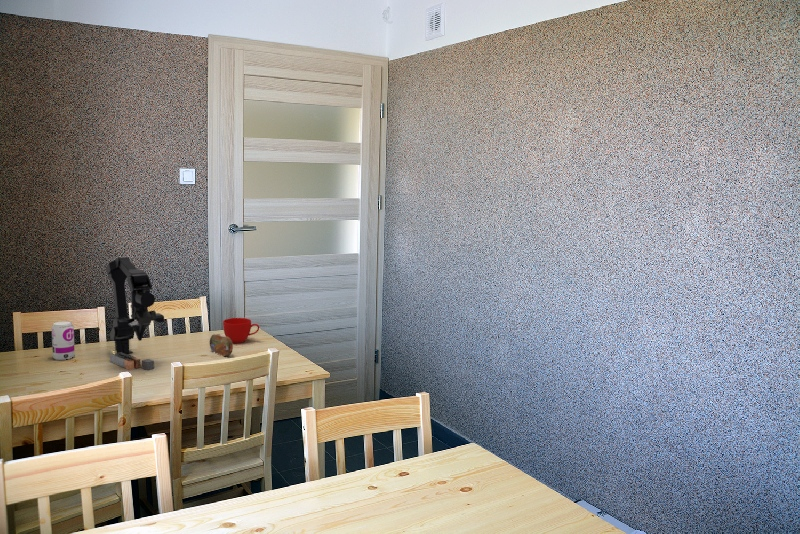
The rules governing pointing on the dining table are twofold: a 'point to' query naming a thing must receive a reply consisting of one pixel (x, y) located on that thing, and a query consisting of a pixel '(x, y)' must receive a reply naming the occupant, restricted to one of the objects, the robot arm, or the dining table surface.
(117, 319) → the robot arm
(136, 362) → the tongs jaw
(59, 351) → the supplement can
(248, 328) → the ceramic cup
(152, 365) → the grey block
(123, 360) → the tongs fixed arm
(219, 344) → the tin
